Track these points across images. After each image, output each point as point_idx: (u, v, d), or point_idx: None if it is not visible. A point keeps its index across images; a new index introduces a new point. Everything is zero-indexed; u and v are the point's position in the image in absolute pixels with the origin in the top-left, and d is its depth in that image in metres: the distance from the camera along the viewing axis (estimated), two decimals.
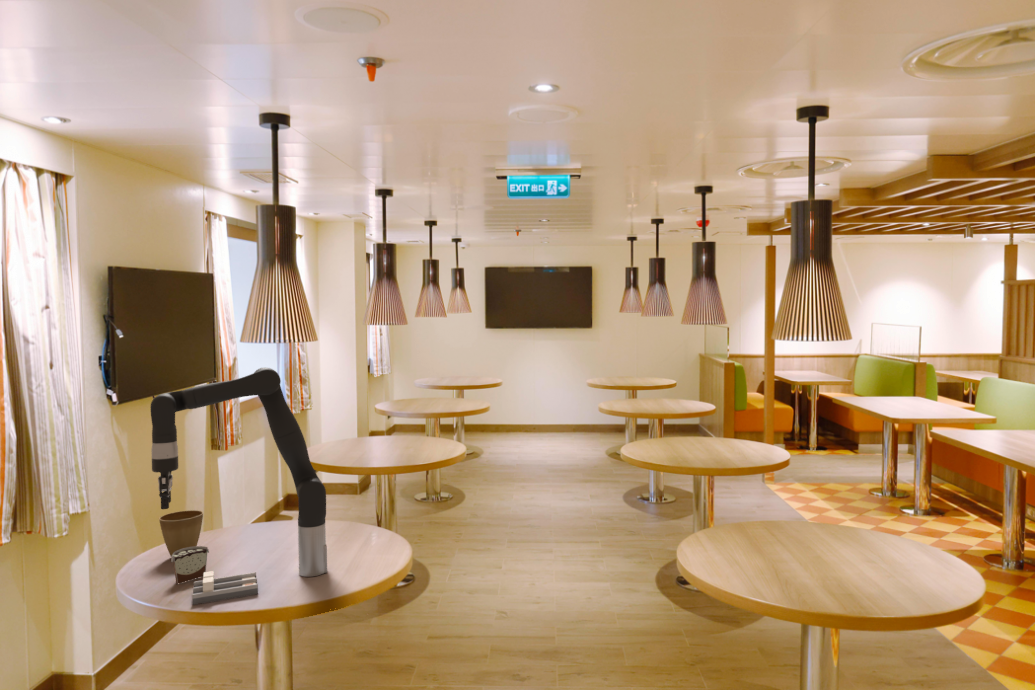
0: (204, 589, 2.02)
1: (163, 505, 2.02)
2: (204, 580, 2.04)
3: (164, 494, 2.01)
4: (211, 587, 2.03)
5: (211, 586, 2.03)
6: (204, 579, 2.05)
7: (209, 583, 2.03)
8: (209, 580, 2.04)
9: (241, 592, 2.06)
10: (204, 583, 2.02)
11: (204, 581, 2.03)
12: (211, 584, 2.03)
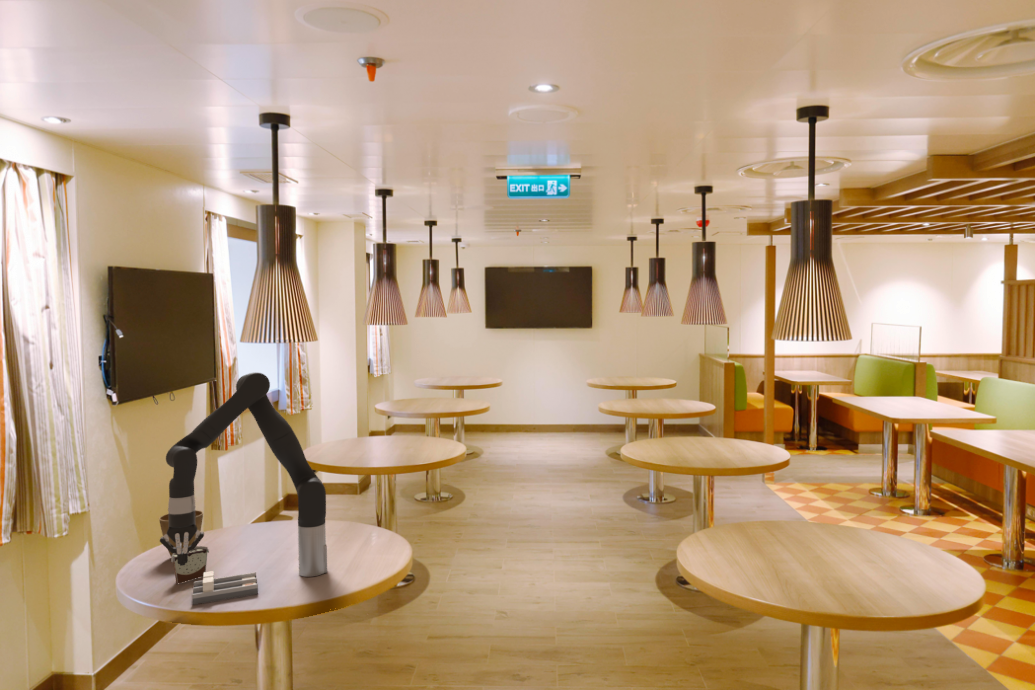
0: (204, 589, 2.02)
1: None
2: (204, 580, 2.04)
3: None
4: (211, 587, 2.03)
5: (211, 586, 2.03)
6: (204, 579, 2.05)
7: (209, 583, 2.03)
8: (209, 580, 2.04)
9: (241, 592, 2.06)
10: (204, 583, 2.02)
11: (204, 581, 2.03)
12: (211, 584, 2.03)
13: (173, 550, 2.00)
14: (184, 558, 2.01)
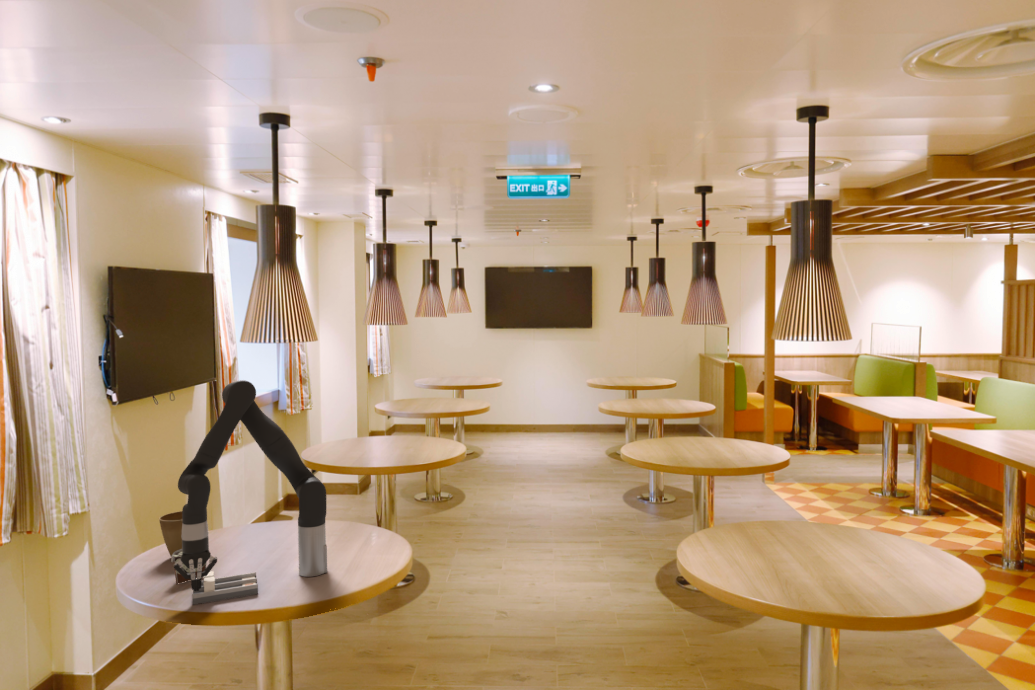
0: (205, 589, 2.03)
1: (201, 585, 2.04)
2: (205, 580, 2.04)
3: None
4: (212, 587, 2.03)
5: (212, 586, 2.03)
6: (205, 579, 2.05)
7: (210, 583, 2.03)
8: (210, 580, 2.04)
9: (241, 592, 2.06)
10: (205, 583, 2.03)
11: (205, 581, 2.04)
12: (212, 584, 2.03)
13: (187, 576, 2.01)
14: (198, 584, 2.03)
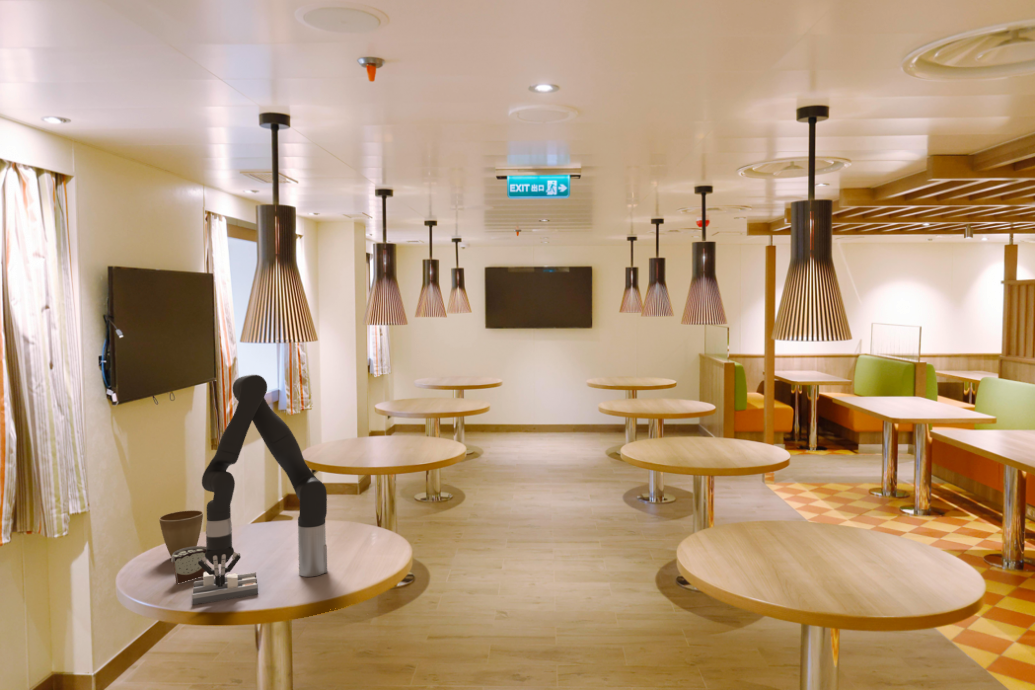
0: (229, 585, 2.05)
1: (224, 581, 2.07)
2: (228, 576, 2.07)
3: None
4: (235, 583, 2.06)
5: (235, 582, 2.06)
6: (228, 575, 2.08)
7: (234, 579, 2.06)
8: (233, 576, 2.07)
9: (241, 592, 2.06)
10: (229, 579, 2.05)
11: (228, 577, 2.06)
12: (235, 580, 2.06)
13: (211, 572, 2.04)
14: (222, 579, 2.06)
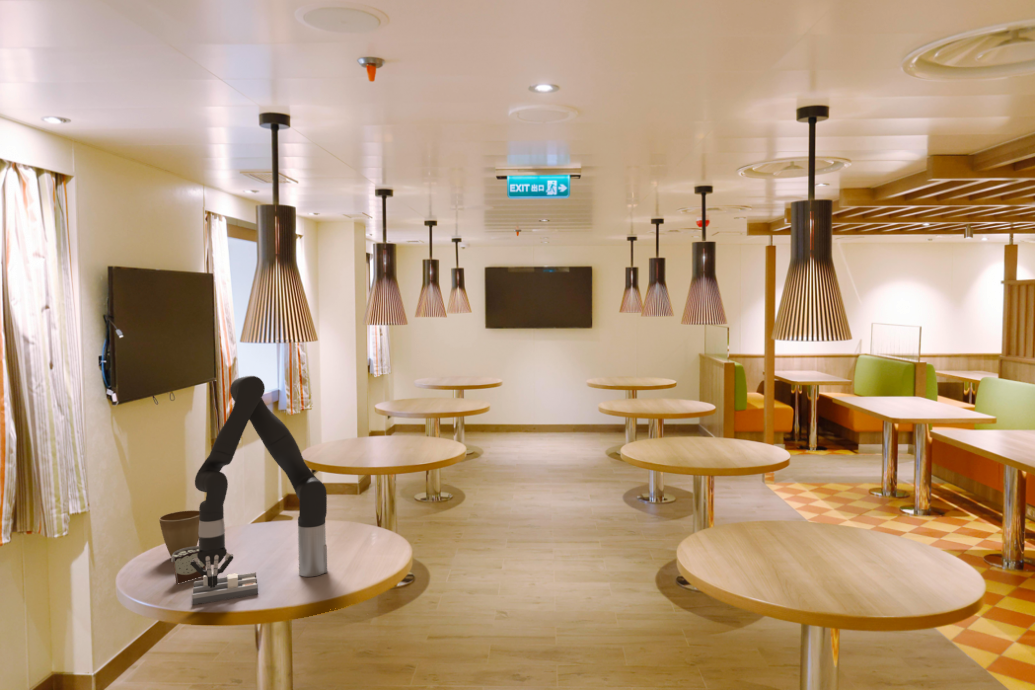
0: (229, 585, 2.05)
1: (217, 582, 2.06)
2: (229, 576, 2.07)
3: None
4: (235, 583, 2.06)
5: (235, 582, 2.06)
6: (228, 575, 2.08)
7: (234, 579, 2.06)
8: (233, 576, 2.07)
9: (241, 592, 2.06)
10: (229, 579, 2.05)
11: (229, 577, 2.06)
12: (235, 580, 2.06)
13: (203, 573, 2.03)
14: (214, 580, 2.05)
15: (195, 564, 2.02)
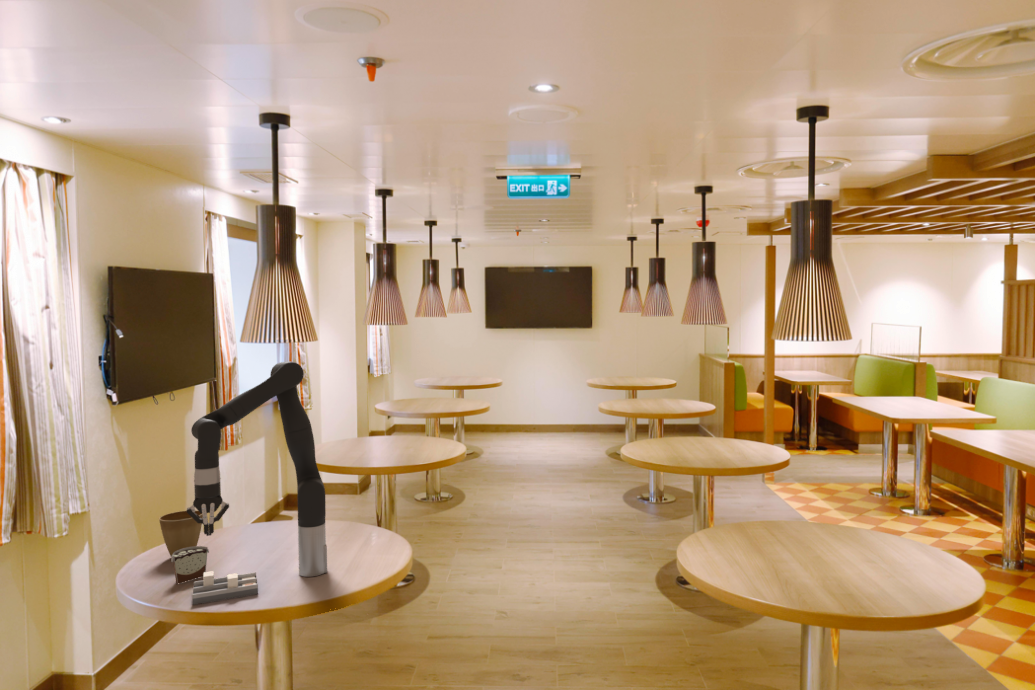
0: (229, 585, 2.05)
1: None
2: (229, 576, 2.07)
3: None
4: (235, 583, 2.06)
5: (235, 582, 2.06)
6: (228, 575, 2.08)
7: (234, 579, 2.06)
8: (233, 576, 2.07)
9: (241, 592, 2.06)
10: (229, 579, 2.05)
11: (229, 577, 2.06)
12: (235, 580, 2.06)
13: (200, 520, 2.04)
14: (210, 528, 2.05)
15: (191, 512, 2.03)
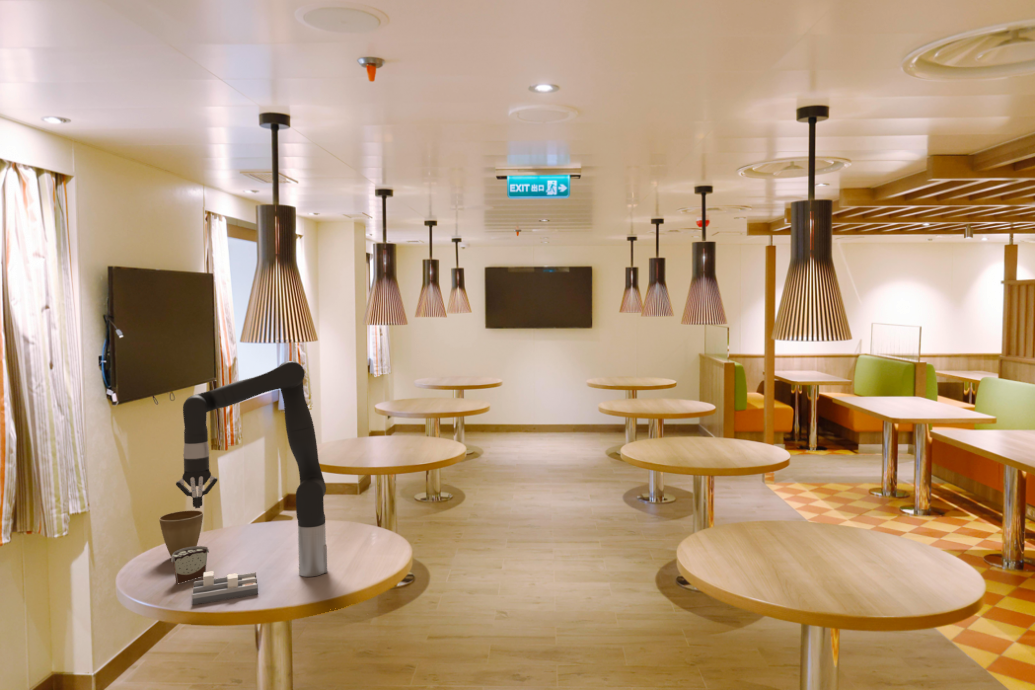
0: (229, 585, 2.05)
1: None
2: (229, 576, 2.07)
3: None
4: (235, 583, 2.06)
5: (235, 582, 2.06)
6: (228, 575, 2.08)
7: (234, 579, 2.06)
8: (233, 576, 2.07)
9: (241, 592, 2.06)
10: (229, 579, 2.05)
11: (229, 577, 2.06)
12: (235, 580, 2.06)
13: (188, 493, 2.11)
14: (199, 501, 2.12)
15: (180, 485, 2.10)
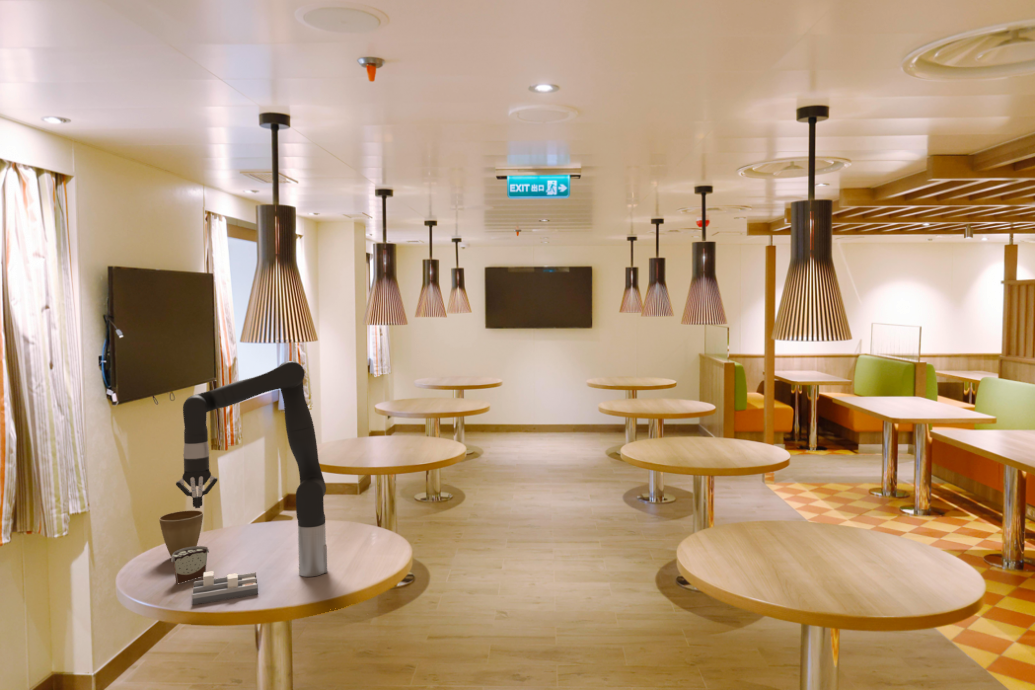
0: (229, 585, 2.05)
1: None
2: (229, 576, 2.07)
3: None
4: (235, 583, 2.06)
5: (235, 582, 2.06)
6: (228, 575, 2.08)
7: (234, 579, 2.06)
8: (233, 576, 2.07)
9: (241, 592, 2.06)
10: (229, 579, 2.05)
11: (229, 577, 2.06)
12: (235, 580, 2.06)
13: (188, 493, 2.11)
14: (199, 501, 2.12)
15: (180, 485, 2.10)
